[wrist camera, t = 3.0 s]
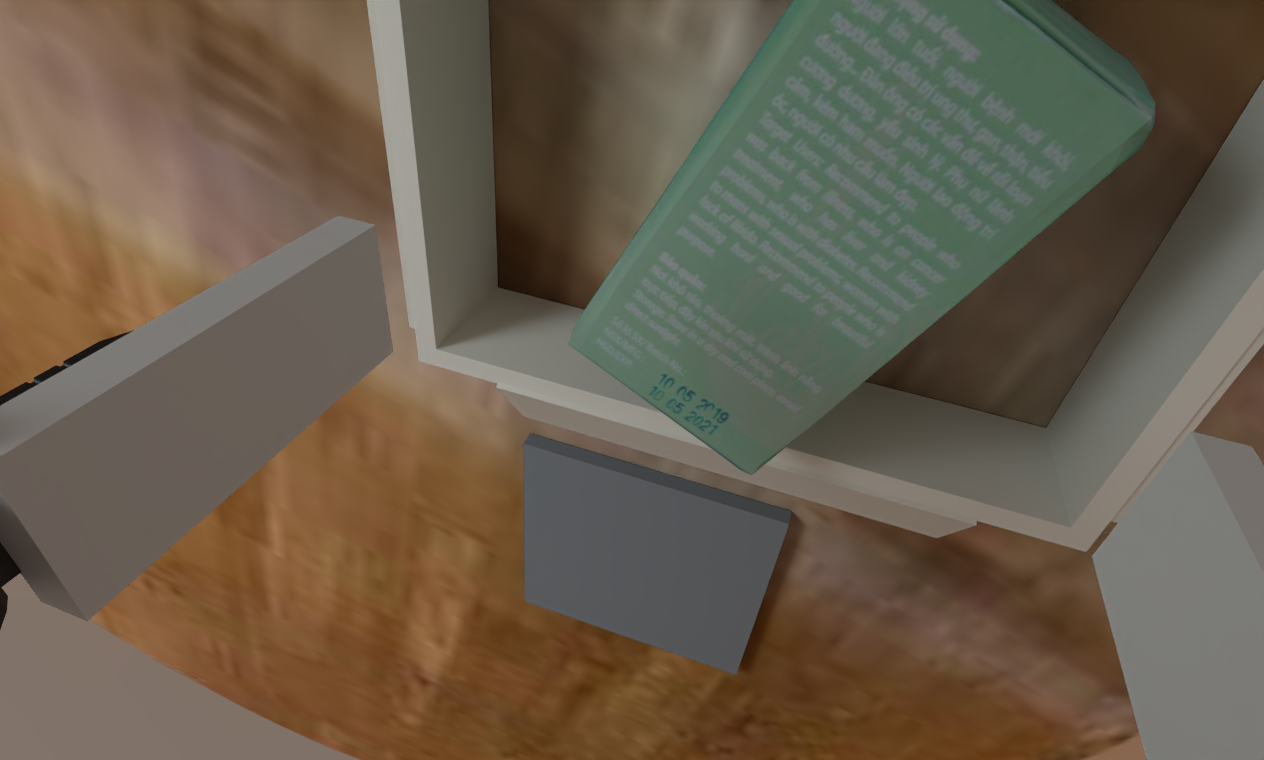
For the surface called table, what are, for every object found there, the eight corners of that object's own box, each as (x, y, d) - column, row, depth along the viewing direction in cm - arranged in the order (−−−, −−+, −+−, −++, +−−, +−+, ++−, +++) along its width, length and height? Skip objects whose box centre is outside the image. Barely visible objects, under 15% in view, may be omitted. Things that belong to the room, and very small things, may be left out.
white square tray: (429, -500, 16) (276, -622, 12) (1693, -484, 12) (2099, -670, 8) (479, 358, 32) (418, 426, 28) (1027, 512, 27) (1048, 620, 23)
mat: (530, 433, 34) (523, 443, 33) (791, 511, 31) (789, 524, 31) (530, 590, 42) (525, 601, 41) (738, 662, 39) (735, 675, 39)
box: (1106, 42, 18) (1194, 117, 12) (787, 357, 27) (752, 486, 21) (890, -133, 18) (877, -138, 12) (635, 247, 26) (556, 349, 21)
